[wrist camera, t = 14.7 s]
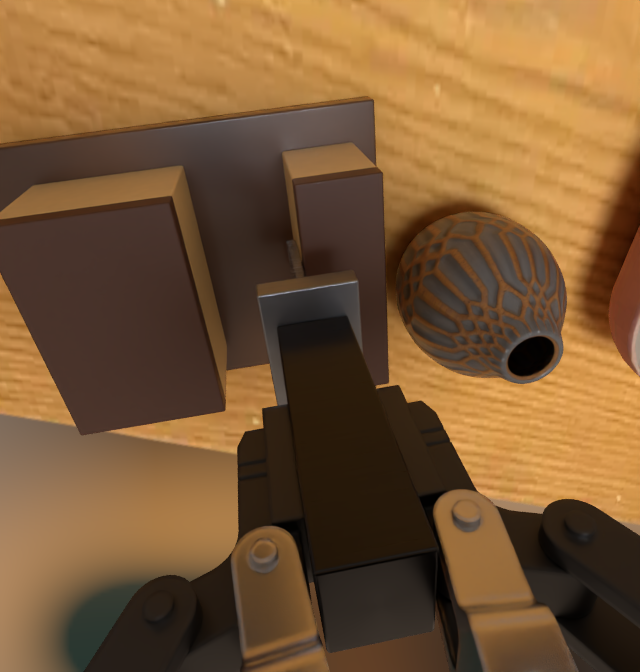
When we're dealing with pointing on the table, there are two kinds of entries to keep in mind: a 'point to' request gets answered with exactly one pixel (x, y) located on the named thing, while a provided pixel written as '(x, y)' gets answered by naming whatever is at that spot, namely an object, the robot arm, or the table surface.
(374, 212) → the cake slice
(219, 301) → the cake board
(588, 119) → the table surface
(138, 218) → the cake
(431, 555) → the knife
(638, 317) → the mitochondrion model
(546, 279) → the vase
